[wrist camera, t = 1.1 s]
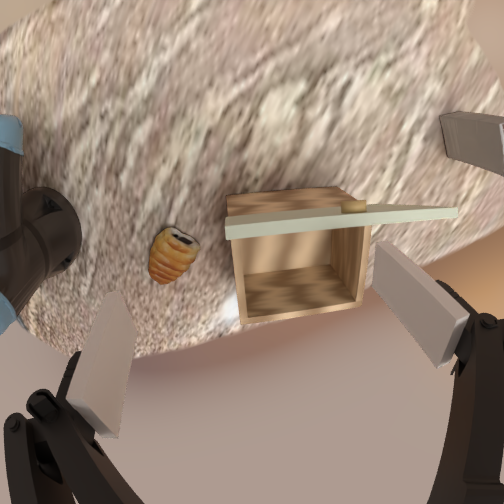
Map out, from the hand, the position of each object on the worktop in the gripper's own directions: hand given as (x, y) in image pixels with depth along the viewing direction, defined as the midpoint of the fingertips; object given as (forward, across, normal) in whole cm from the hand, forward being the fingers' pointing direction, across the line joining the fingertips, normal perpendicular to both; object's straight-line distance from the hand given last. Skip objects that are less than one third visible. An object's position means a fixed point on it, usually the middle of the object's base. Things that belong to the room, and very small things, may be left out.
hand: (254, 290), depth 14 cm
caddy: (+30, +8, -11) cm, 33 cm away
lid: (+18, +8, -4) cm, 20 cm away
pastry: (+31, -13, -11) cm, 35 cm away
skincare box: (+29, +42, +4) cm, 51 cm away
